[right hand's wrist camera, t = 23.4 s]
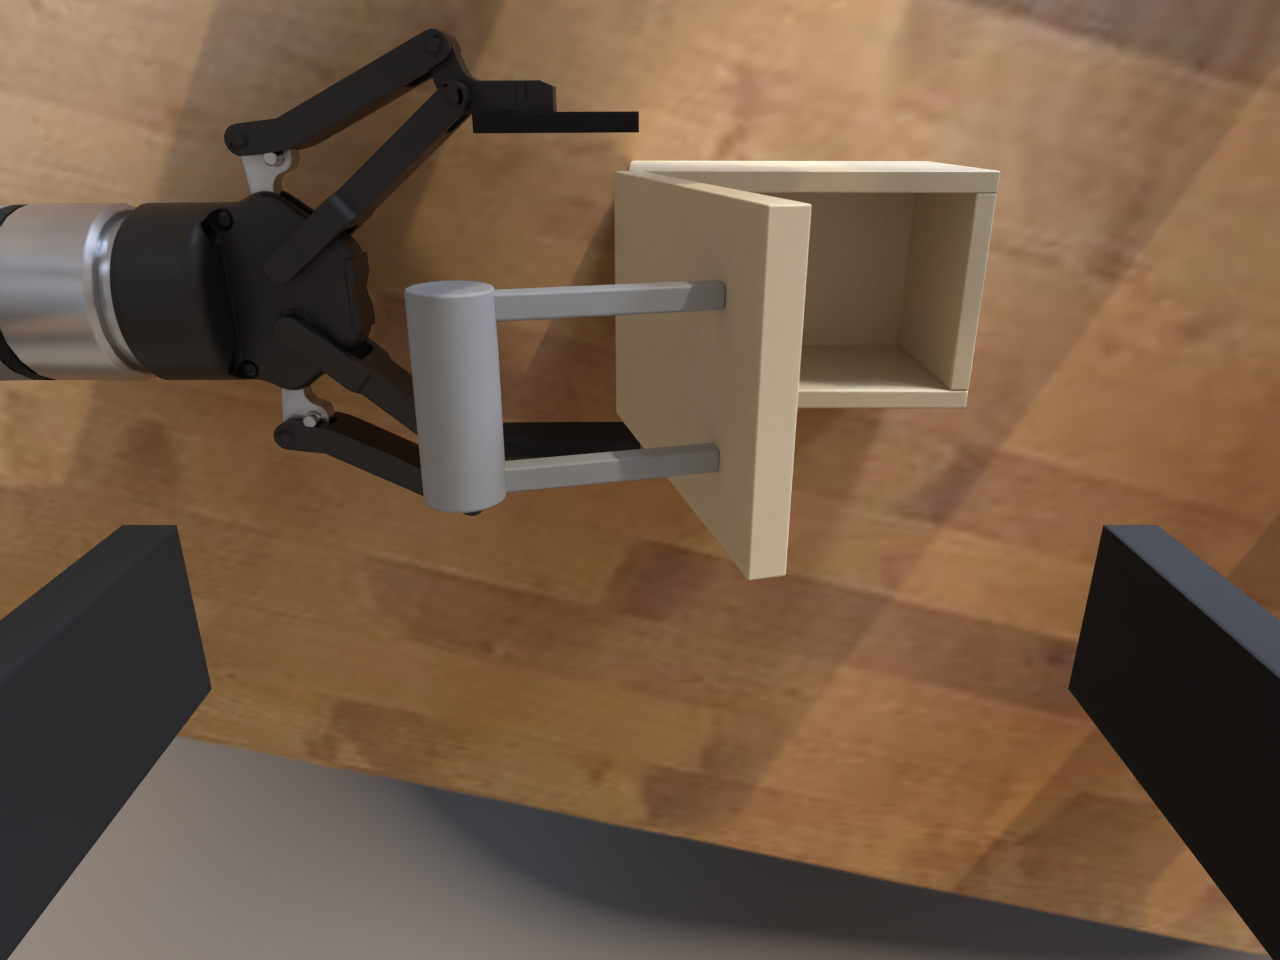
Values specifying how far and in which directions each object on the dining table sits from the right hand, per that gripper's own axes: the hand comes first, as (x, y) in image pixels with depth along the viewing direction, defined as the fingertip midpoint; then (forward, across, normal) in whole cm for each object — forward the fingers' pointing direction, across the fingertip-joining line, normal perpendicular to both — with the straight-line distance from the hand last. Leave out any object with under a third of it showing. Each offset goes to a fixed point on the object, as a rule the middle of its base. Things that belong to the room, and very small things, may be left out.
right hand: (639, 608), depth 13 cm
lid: (+17, +2, 0) cm, 18 cm away
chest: (+34, +7, 0) cm, 35 cm away
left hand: (+28, 0, 0) cm, 28 cm away
